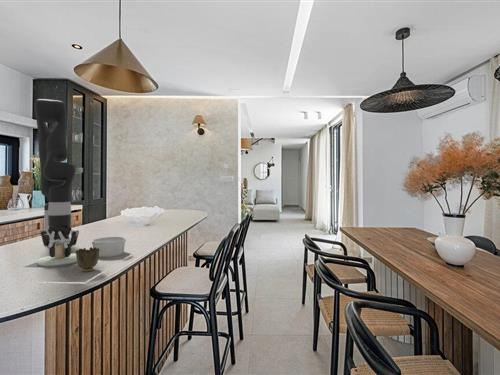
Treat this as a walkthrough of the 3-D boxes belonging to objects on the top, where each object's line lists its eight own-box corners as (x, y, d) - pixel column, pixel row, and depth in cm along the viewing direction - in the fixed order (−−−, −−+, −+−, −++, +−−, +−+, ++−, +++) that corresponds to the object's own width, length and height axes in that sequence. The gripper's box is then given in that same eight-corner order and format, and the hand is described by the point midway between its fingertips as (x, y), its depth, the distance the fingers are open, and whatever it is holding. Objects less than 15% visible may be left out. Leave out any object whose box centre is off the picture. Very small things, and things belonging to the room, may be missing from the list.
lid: (53, 256, 125) (53, 241, 125) (89, 256, 125) (89, 241, 125) (26, 266, 110) (26, 249, 110) (67, 266, 110) (67, 250, 110)
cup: (75, 276, 101) (74, 252, 101) (76, 270, 108) (76, 248, 108) (99, 273, 105) (99, 250, 105) (99, 267, 111) (99, 246, 111)
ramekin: (90, 260, 122) (90, 243, 122) (92, 253, 134) (92, 237, 134) (126, 257, 127) (126, 241, 127) (125, 250, 139) (125, 235, 139)
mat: (53, 257, 126) (53, 255, 126) (91, 257, 126) (91, 256, 126) (24, 268, 110) (24, 266, 110) (67, 269, 110) (67, 267, 110)
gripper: (83, 212, 121) (83, 254, 121) (48, 212, 121) (48, 254, 121) (72, 214, 113) (72, 259, 114) (34, 214, 114) (34, 259, 114)
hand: (60, 256), depth 118 cm, fingers open, 5 cm apart
